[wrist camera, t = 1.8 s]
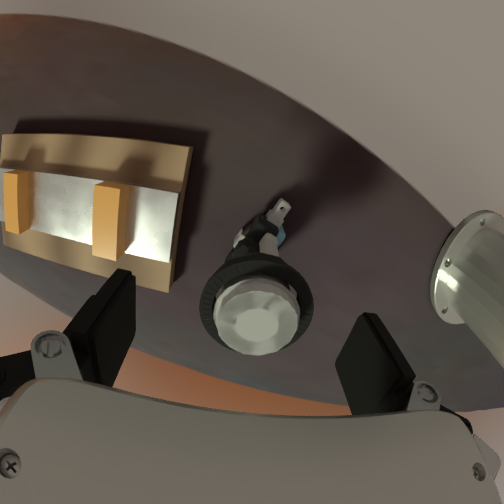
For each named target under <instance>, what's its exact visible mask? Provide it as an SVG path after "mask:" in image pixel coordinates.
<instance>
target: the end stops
mask: <svg viewBox="0 0 504 504" xmlns="http://www.w3.org/2000/svg"><path fill="white" fill-rule="evenodd" d="M129 186H130V185H126V184H120V183H114V182H108V181H104V182H101V183H98V184H95V185H94V195H93V216H92V255H94V256H98V257H102V258H105V259H109V260H113V261H117V260H118V259H119V258H120V257H121V256H122V255H123V254H124V253H125V233H126V218H127V206H128V195H129ZM4 213H5V227H6V231H9V232H12V233H15V234H21V233H23V232H25V231H26V230H28V229H30V226H29V171H24V170H12V171H9V172H5V173H4Z"/></svg>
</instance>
